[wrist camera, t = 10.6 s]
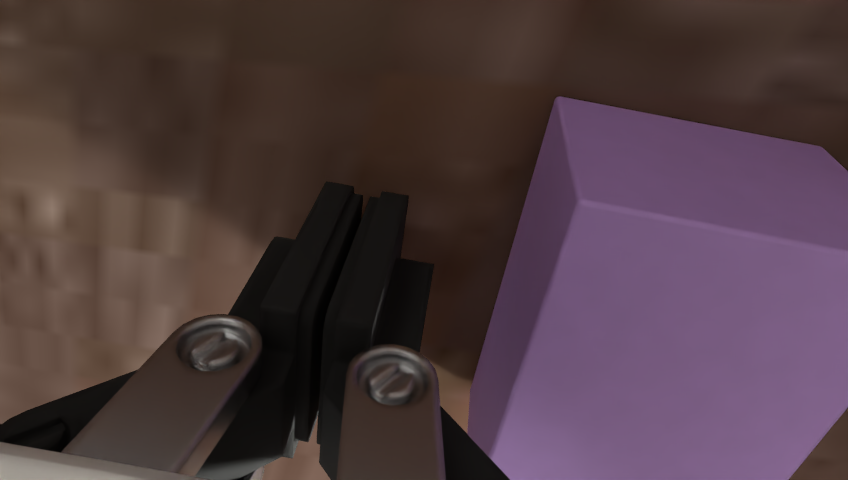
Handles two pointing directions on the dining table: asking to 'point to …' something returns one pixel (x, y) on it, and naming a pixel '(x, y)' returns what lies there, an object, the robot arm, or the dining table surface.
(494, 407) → the block
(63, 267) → the dining table surface
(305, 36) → the dining table surface
